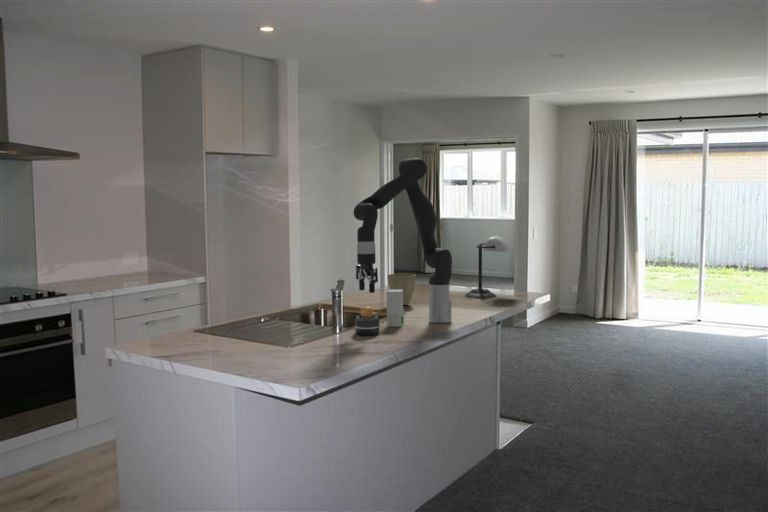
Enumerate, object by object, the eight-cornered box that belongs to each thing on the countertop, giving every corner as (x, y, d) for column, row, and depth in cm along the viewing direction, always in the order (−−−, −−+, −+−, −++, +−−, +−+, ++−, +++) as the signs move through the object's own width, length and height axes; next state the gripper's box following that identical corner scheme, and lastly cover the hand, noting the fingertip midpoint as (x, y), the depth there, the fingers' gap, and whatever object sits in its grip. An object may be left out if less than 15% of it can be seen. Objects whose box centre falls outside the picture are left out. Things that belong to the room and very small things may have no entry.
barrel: (371, 330, 280) (371, 313, 279) (384, 334, 271) (383, 317, 270) (350, 332, 275) (350, 315, 274) (362, 337, 266) (362, 319, 265)
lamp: (505, 300, 356) (505, 238, 353) (460, 298, 363) (460, 237, 360) (509, 293, 381) (510, 235, 378) (468, 292, 388) (468, 234, 385)
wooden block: (369, 317, 276) (368, 305, 275) (375, 319, 271) (375, 307, 271) (358, 318, 273) (358, 307, 273) (365, 321, 269) (364, 309, 268)
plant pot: (421, 305, 342) (421, 275, 340) (398, 308, 333) (398, 277, 332) (404, 302, 354) (404, 272, 352) (382, 304, 346) (381, 274, 344)
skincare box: (400, 327, 285) (400, 291, 284) (385, 326, 287) (385, 291, 285) (404, 323, 294) (403, 289, 292) (389, 323, 295) (389, 288, 293)
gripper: (382, 252, 266) (383, 292, 267) (365, 250, 278) (366, 288, 279) (366, 254, 262) (367, 294, 263) (350, 251, 274) (350, 290, 275)
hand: (366, 291), depth 271 cm, fingers open, 8 cm apart
